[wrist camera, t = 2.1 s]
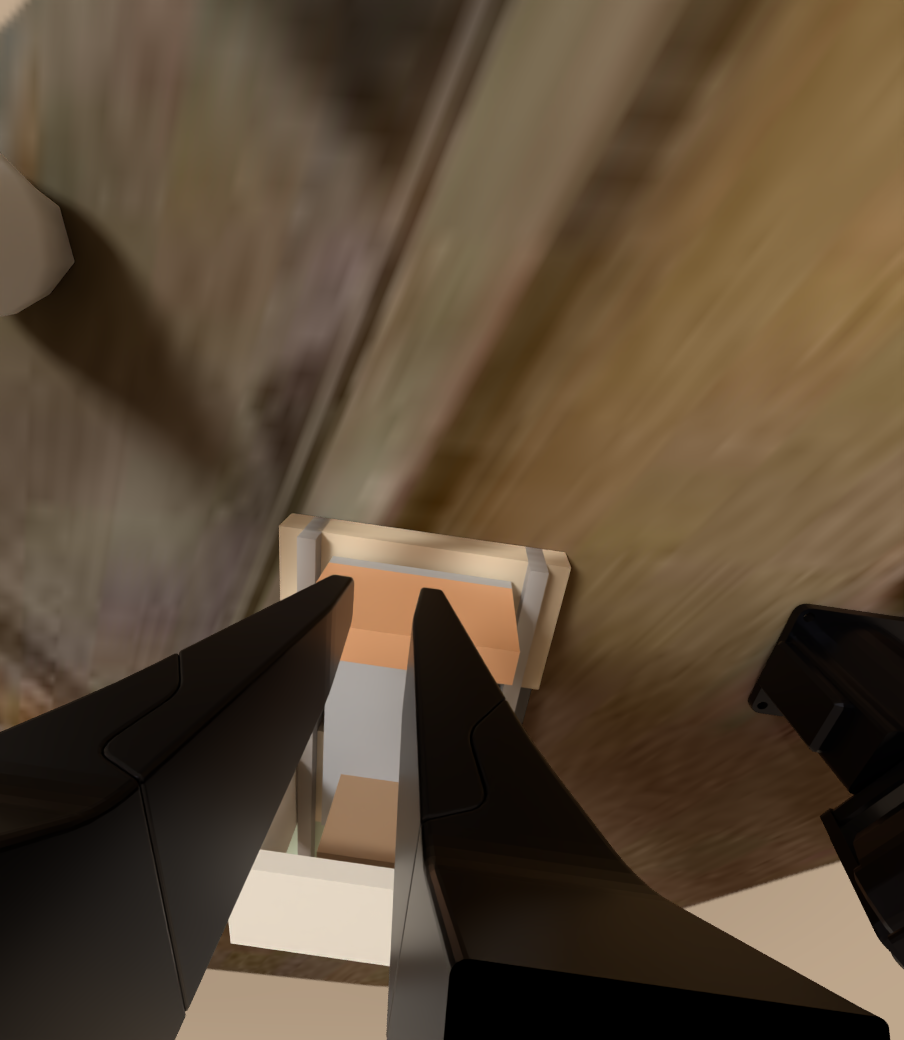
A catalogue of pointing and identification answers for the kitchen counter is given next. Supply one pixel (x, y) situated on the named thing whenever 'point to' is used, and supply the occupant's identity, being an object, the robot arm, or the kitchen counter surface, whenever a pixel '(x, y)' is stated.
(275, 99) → the kitchen counter surface
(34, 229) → the salt shaker
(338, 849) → the sled
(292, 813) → the tunnel
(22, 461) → the kitchen counter surface
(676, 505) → the kitchen counter surface
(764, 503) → the kitchen counter surface
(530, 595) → the track deck
